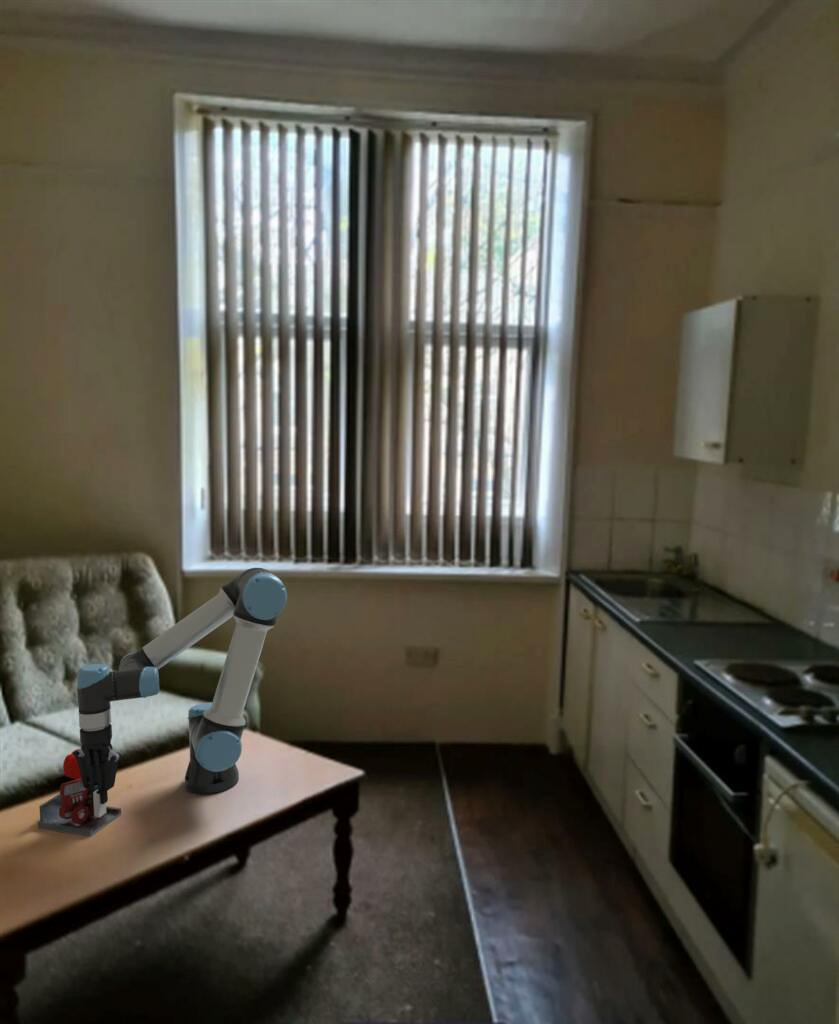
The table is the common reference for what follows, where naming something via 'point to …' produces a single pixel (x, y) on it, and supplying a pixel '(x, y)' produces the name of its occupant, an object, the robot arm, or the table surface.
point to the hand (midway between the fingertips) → (100, 814)
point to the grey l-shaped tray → (56, 823)
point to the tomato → (71, 766)
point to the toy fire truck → (75, 801)
